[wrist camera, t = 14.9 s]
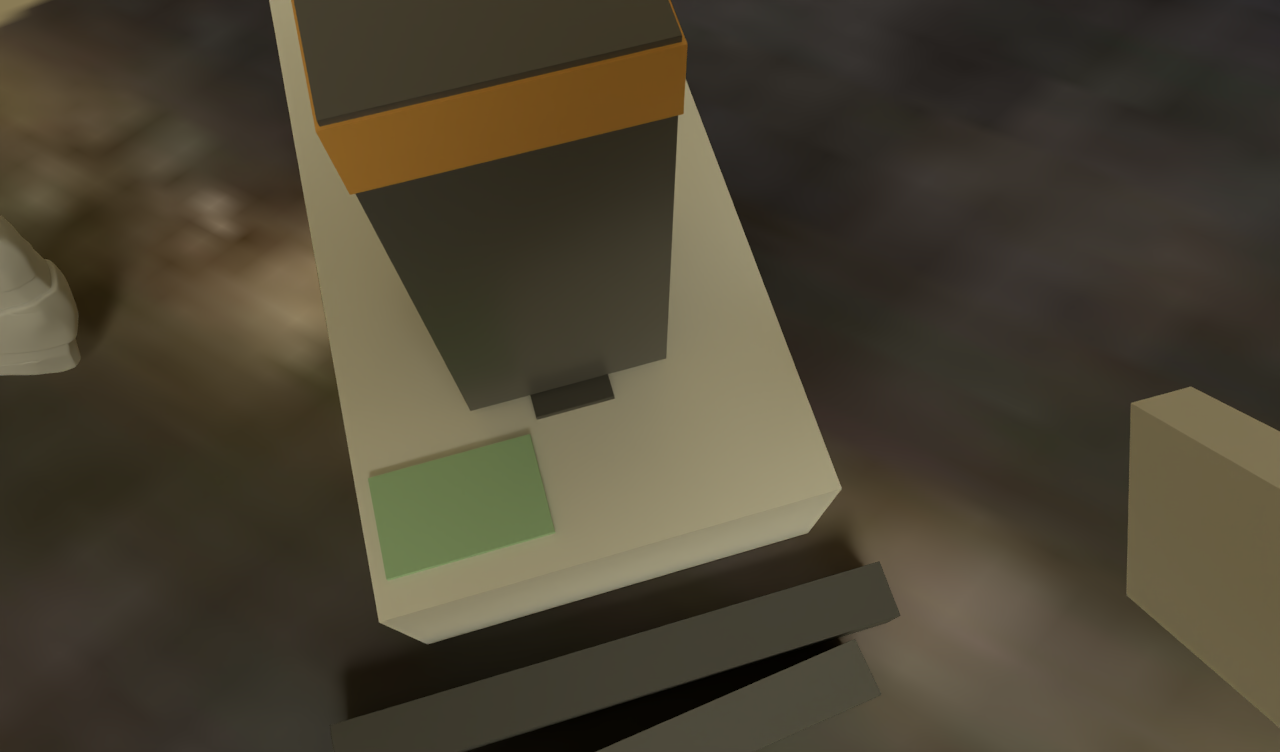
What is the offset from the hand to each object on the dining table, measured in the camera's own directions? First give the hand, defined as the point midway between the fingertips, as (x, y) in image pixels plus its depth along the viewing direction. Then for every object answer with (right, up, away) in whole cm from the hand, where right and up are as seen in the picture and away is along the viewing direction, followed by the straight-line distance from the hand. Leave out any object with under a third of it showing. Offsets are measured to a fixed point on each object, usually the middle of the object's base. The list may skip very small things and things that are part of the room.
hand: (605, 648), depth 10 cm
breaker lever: (-2, +5, +8) cm, 10 cm away
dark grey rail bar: (0, -3, +10) cm, 10 cm away
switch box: (-2, +6, +14) cm, 15 cm away
